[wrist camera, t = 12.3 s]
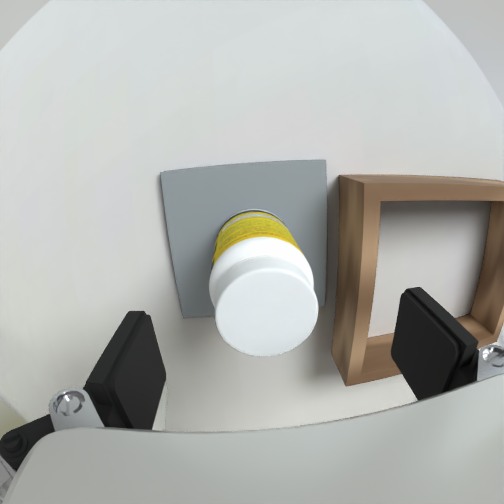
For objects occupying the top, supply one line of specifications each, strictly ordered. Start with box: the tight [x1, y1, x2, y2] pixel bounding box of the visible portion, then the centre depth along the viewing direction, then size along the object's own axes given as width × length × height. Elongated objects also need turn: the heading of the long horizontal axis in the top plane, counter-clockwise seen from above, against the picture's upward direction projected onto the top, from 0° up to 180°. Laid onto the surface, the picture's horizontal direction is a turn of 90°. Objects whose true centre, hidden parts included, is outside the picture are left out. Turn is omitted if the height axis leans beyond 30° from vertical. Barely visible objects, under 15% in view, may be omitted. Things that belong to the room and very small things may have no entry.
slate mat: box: [160, 160, 327, 318], centre depth 19 cm, size 10×10×1 cm
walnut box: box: [331, 175, 504, 386], centre depth 19 cm, size 14×16×4 cm
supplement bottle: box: [209, 209, 318, 357], centre depth 15 cm, size 5×5×8 cm
